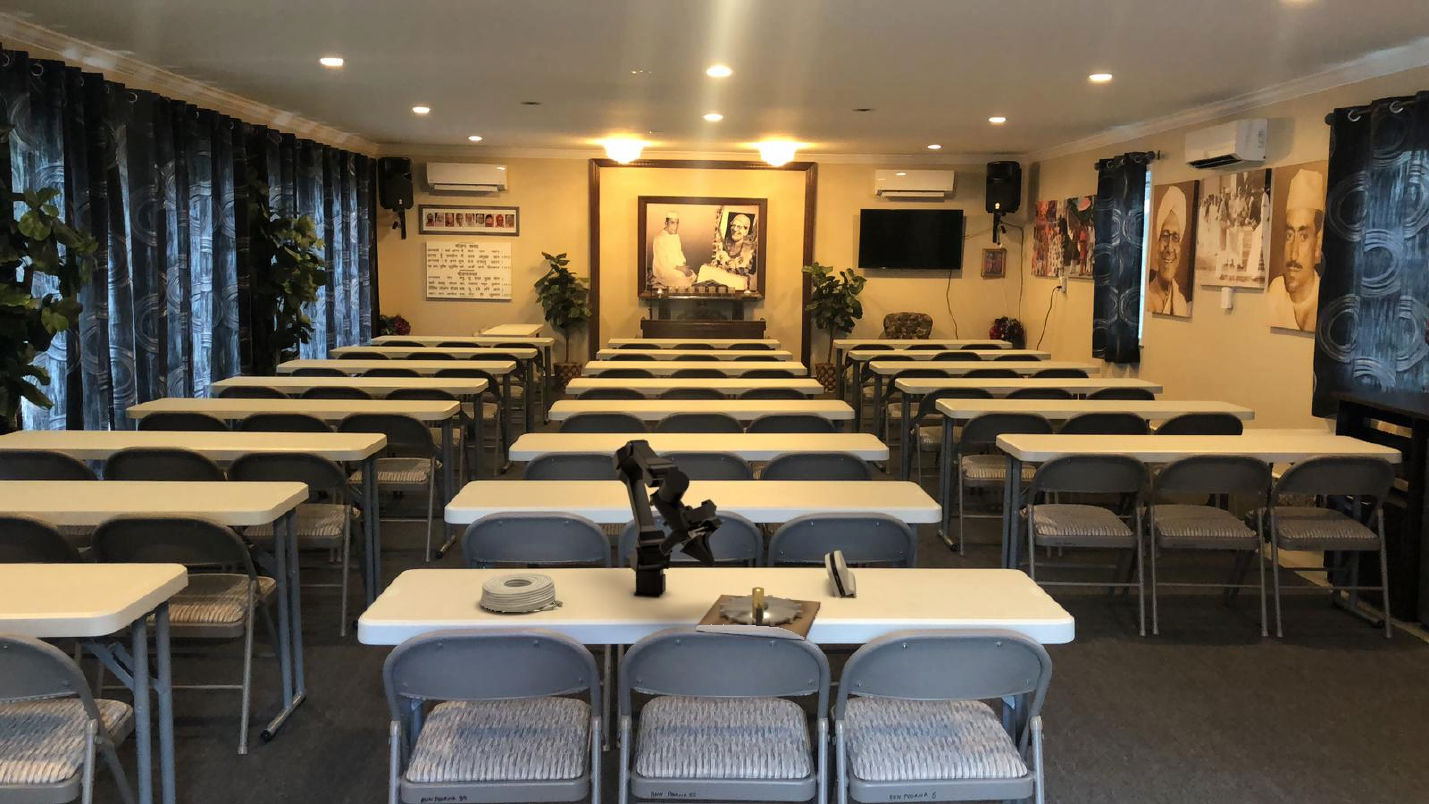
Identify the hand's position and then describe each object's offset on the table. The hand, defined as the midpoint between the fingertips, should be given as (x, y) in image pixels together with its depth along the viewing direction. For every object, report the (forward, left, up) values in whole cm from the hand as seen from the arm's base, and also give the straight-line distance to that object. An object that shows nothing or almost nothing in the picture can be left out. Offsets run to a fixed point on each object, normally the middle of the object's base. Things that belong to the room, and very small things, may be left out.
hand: (713, 565), depth 240 cm
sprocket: (+10, +3, -11) cm, 15 cm away
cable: (-48, 0, -13) cm, 49 cm away
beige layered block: (+25, +31, -13) cm, 41 cm away
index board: (+10, +3, -12) cm, 16 cm away
